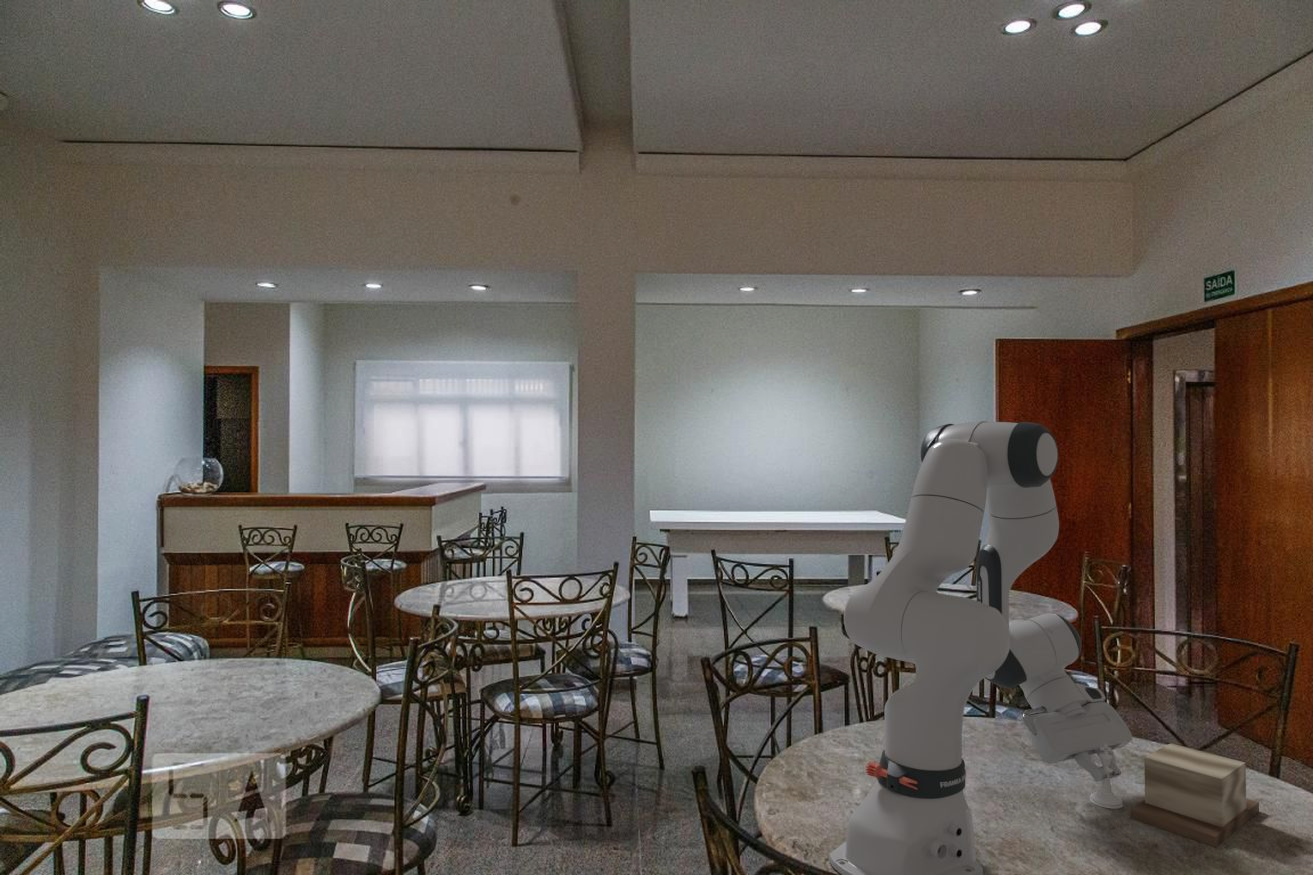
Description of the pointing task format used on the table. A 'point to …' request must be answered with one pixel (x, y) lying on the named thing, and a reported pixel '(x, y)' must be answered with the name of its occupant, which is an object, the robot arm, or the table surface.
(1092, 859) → the table surface
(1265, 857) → the table surface
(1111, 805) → the chess piece
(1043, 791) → the table surface
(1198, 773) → the walnut base
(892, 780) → the robot arm
